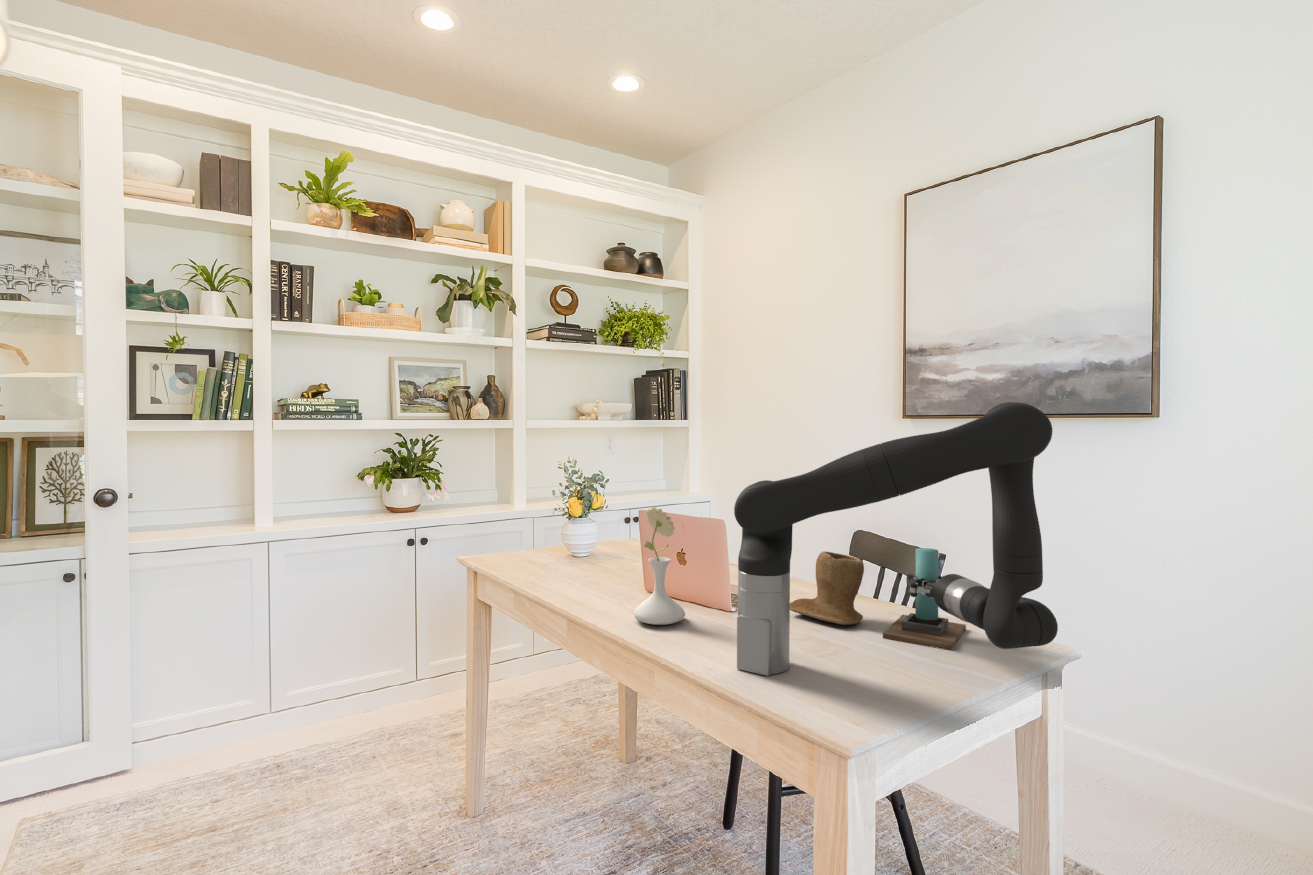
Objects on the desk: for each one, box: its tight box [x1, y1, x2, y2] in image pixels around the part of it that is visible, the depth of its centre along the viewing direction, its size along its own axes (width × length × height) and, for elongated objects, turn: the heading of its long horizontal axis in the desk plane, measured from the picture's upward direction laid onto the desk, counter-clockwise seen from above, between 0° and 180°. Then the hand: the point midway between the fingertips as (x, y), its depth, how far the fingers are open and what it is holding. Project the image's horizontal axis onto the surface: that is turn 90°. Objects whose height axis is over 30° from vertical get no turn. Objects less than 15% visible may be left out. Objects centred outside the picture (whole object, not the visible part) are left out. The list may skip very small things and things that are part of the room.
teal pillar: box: [914, 547, 939, 620], centre depth 138 cm, size 4×4×14 cm
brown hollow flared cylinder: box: [790, 551, 865, 625], centre depth 149 cm, size 15×12×15 cm
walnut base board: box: [882, 612, 967, 651], centre depth 138 cm, size 16×13×3 cm
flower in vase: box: [633, 506, 686, 626], centre depth 147 cm, size 13×11×25 cm
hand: (920, 578), depth 141 cm, fingers closed on teal pillar, 4 cm apart
